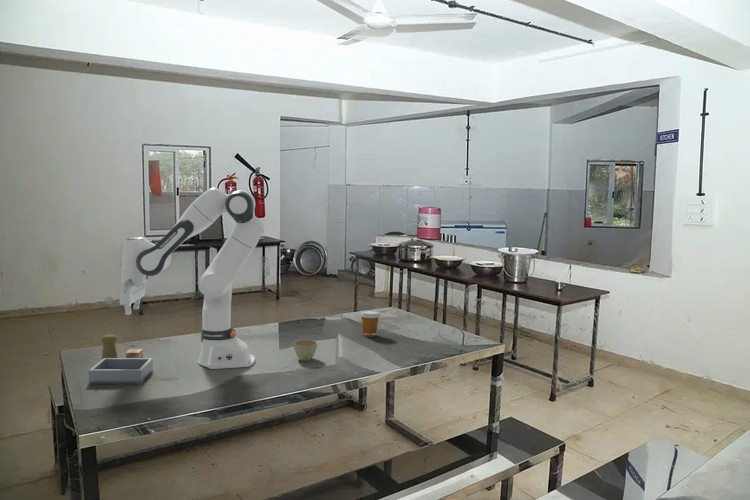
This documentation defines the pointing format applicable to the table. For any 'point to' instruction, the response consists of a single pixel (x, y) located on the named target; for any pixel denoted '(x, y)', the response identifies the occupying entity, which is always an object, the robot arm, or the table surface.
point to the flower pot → (305, 349)
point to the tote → (121, 371)
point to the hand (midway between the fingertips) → (132, 311)
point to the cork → (109, 346)
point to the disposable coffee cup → (369, 321)
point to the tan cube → (134, 353)
